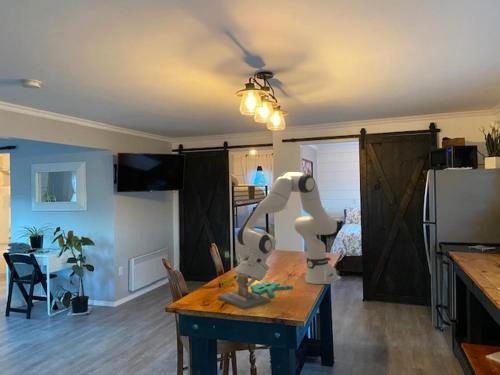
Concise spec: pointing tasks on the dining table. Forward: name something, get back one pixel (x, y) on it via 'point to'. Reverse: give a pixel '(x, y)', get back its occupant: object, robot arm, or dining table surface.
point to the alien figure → (268, 288)
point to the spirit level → (227, 281)
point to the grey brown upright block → (243, 286)
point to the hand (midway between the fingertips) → (241, 284)
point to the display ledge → (244, 299)
